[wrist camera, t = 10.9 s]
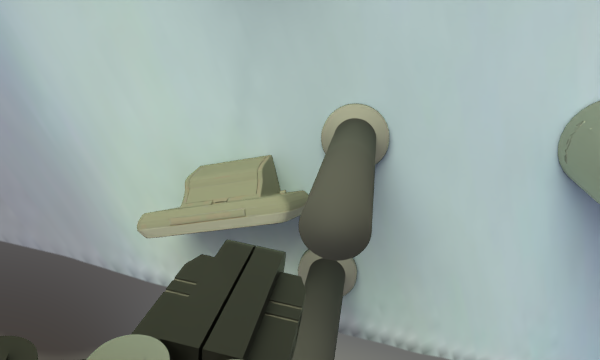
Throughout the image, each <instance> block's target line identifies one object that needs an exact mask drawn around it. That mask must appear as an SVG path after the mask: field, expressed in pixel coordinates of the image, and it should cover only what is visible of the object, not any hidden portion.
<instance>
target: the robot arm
mask: <svg viewBox="0 0 600 360" xmlns="http://www.w3.org/2000/svg"><path fill="white" fill-rule="evenodd" d="M558 158H559V163H560V165H561V167H562V169H563V171H564V172H565V173H566V174H567V176H568V177H569V178H570V179H571V180H573V181H574V182H575V183H576V184H577V185H578V186H579V187H581V188H582V189H583V190H584V191H585V192H586V193H587V194H588V195H589V196H591V197H592V198H593V199H594V200H595V201H596V202H597V203H599V204H600V101H598V102H595V103H593V104H591V105H589V106H588V107H586V108H584V109H583V110H581V111H580V112H579V113H578V114H577V115H575V116H574V117H573V118H572V119H571V121H570V122H569V123H568V124H567V125H566V127H565V129H564V131H563V133H562V134H561V137H560V141H559V144H558ZM285 258H286V252H283V251H278V250H273V249H269V248H264V247H260V246H257V247H256V246H255V245H250V244H246V243H241V242H237V241H232V240H226V241H225V243H224V244H223V246H222V247H221V249H220V250H219V252H218V253H217V254H216V256H215V257H211V256H207V255H203V254H202V255H200V256H198V257H197V258H195V259H193V260H191V261H190V262H188V263H186V264H185V265H184V266H183V268H182V269H181V270H180V271H179V273H178V274H177V275H176V277H175V279H174V280H173V281H172V282H171V283H170V284H169V286H168V287H167V288H166V291H165V292H163V294H162V295H161V296H160V297H159V299H158V300H157V301H156V303H155V304H154V305H153V307H152V308H151V309H150V310H149V312H148V313H147V314H146V316H145V317H144V318H143V320H142V321H141V322H140V324H139V325H138V326H137V327H136V329H135V330H134V332H132V334H131V335H125V336H121V337H117V338H115V339H112V340H110V341H108V342H106V343H104V344H103V345H101V346H100V347H99V348H97V349H96V350H95V351H94V352H93V353H92V354H91V355H90V356H89V357H88V358H87V359H83V360H292V359H293V355H294V351H295V347H296V343H297V339H298V334H299V328H300V323H301V317H302V312H303V306H304V301H305V295H306V290H305V287H304V284H303V281H302V278H301V276H296V275H292V274H287V273H283V272H284V265H285ZM0 360H38V354H37V349H36V348H35V346H34V344H32V343H31V342H30V341H28V340H27V339H24V338H21V337H16V336H0Z"/></svg>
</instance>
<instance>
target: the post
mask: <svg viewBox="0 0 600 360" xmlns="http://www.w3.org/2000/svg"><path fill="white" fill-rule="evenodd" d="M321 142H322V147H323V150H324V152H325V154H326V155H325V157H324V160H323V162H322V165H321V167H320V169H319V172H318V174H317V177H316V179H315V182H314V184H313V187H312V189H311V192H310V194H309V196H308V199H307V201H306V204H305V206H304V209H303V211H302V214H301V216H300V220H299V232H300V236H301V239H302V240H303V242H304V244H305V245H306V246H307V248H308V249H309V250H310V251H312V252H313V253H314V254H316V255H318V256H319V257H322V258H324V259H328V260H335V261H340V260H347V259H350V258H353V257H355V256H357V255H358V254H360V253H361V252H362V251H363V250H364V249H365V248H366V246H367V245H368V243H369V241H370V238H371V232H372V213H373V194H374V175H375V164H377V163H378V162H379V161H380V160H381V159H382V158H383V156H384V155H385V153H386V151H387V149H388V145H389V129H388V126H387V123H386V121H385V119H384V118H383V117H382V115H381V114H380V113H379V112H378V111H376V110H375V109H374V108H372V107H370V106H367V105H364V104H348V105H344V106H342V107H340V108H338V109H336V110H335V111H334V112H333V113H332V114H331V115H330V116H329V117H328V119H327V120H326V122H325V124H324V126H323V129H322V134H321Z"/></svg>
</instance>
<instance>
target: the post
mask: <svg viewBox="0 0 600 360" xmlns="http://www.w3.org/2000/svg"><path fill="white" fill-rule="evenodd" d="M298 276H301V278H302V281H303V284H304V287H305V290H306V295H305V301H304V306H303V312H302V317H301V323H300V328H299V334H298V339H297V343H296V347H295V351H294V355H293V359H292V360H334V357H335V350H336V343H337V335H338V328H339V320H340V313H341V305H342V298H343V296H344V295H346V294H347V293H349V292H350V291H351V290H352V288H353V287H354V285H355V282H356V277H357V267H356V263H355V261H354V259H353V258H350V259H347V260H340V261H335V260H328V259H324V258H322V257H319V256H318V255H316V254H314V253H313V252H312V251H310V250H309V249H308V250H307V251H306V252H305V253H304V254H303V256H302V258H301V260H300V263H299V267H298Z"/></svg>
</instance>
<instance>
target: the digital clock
mask: <svg viewBox="0 0 600 360" xmlns="http://www.w3.org/2000/svg"><path fill="white" fill-rule="evenodd" d="M308 196H309V195H308V194H307V193H306V192H305V191H295V192H288V193H286V190H283V191H281V190H280V186H279V182H278V178H277V174H276V170H275V166H274V162H273V158H272V156H271V155H268V156H262V157H255V158H249V159H242V160H236V161H230V162H223V163H217V164H211V165H204V166H200V167H199V168H198V169H196V170H195V171H194V172H193V173H192V174H191V175H189V176H188V177H187V179H186V181H185V194H184V198H183V202H182V205H181V207H179V208H173V209H168V210H162V211H156V212H150V213H145V214H143V215H142V217H141V218H140V220H139V221H138V224H137V229H138V230H137V231H138V232H140V233H141V234H142V235H143V236H144V237H146V238H155V237H156V238H157V237H165V236H174V235H182V234H191V233H199V232H208V231H216V230H225V229H233V228H242V227H250V226H259V225H267V224H276V223H281V222H286V221H289V220H291V219H293V218H295V217H297V216H300V215H301V214H302V211H303V209H304V206H305V204H306V201H307V199H308ZM262 197H263V198H262ZM256 198H257V199H256ZM247 199H248V200H247ZM241 200H242V201H241ZM239 209H241V210H239ZM232 210H233V211H232ZM224 211H225V212H224ZM216 212H217V213H216Z"/></svg>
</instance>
